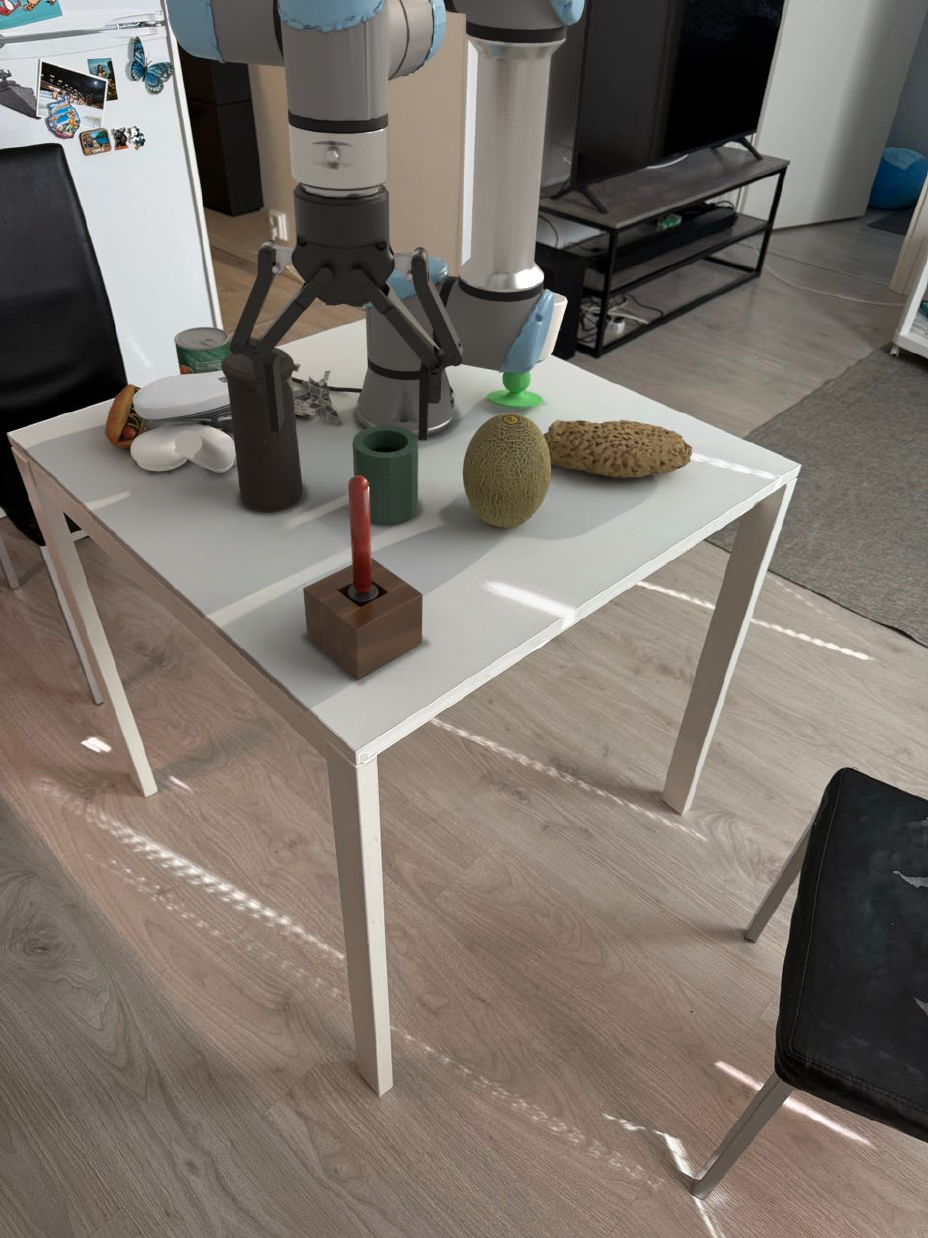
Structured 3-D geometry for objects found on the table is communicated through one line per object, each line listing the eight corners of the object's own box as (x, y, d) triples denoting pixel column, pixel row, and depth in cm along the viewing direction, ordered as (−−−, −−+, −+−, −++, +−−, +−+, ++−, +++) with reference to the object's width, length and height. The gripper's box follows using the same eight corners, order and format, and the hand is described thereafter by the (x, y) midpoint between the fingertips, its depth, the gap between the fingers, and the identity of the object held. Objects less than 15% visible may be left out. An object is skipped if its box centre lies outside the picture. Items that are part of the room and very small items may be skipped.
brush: (344, 639, 100) (334, 475, 87) (367, 627, 102) (360, 464, 88) (362, 654, 98) (355, 489, 85) (385, 641, 100) (381, 477, 87)
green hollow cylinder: (343, 505, 121) (339, 438, 114) (390, 484, 125) (389, 419, 119) (382, 532, 116) (381, 464, 110) (430, 509, 121) (431, 443, 114)
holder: (307, 637, 100) (302, 588, 96) (370, 604, 105) (369, 555, 101) (358, 680, 95) (355, 630, 91) (422, 643, 100) (422, 593, 96)
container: (316, 486, 124) (305, 346, 111) (285, 520, 118) (270, 376, 105) (260, 473, 126) (243, 334, 113) (226, 506, 119) (204, 362, 107)
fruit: (447, 505, 122) (450, 403, 112) (521, 489, 126) (530, 389, 116) (483, 551, 114) (490, 446, 104) (560, 533, 118) (574, 430, 108)
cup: (562, 392, 150) (572, 292, 142) (551, 416, 138) (561, 308, 130) (481, 384, 152) (487, 285, 144) (463, 406, 140) (468, 300, 132)
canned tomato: (175, 404, 140) (163, 336, 133) (217, 389, 145) (207, 322, 138) (206, 422, 136) (195, 352, 129) (248, 405, 141) (240, 337, 134)
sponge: (536, 480, 130) (673, 491, 121) (534, 426, 127) (675, 434, 118) (569, 456, 140) (697, 465, 132) (568, 406, 137) (700, 411, 128)
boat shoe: (120, 384, 124) (126, 438, 129) (155, 410, 120) (159, 464, 125) (267, 351, 139) (267, 400, 144) (302, 373, 135) (300, 423, 140)
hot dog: (132, 417, 138) (157, 400, 137) (121, 463, 129) (149, 445, 127) (108, 393, 135) (134, 375, 134) (95, 437, 125) (123, 418, 124)
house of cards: (334, 347, 138) (369, 373, 136) (326, 395, 145) (360, 421, 142) (290, 364, 133) (326, 391, 130) (284, 412, 139) (319, 439, 137)
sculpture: (176, 430, 134) (166, 380, 129) (258, 457, 129) (252, 406, 124) (117, 466, 126) (104, 414, 120) (202, 496, 121) (193, 443, 116)
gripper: (168, 188, 68) (207, 441, 81) (500, 206, 68) (483, 456, 81) (194, 163, 74) (226, 403, 87) (499, 180, 74) (484, 417, 87)
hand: (350, 429), depth 84 cm, fingers open, 13 cm apart
